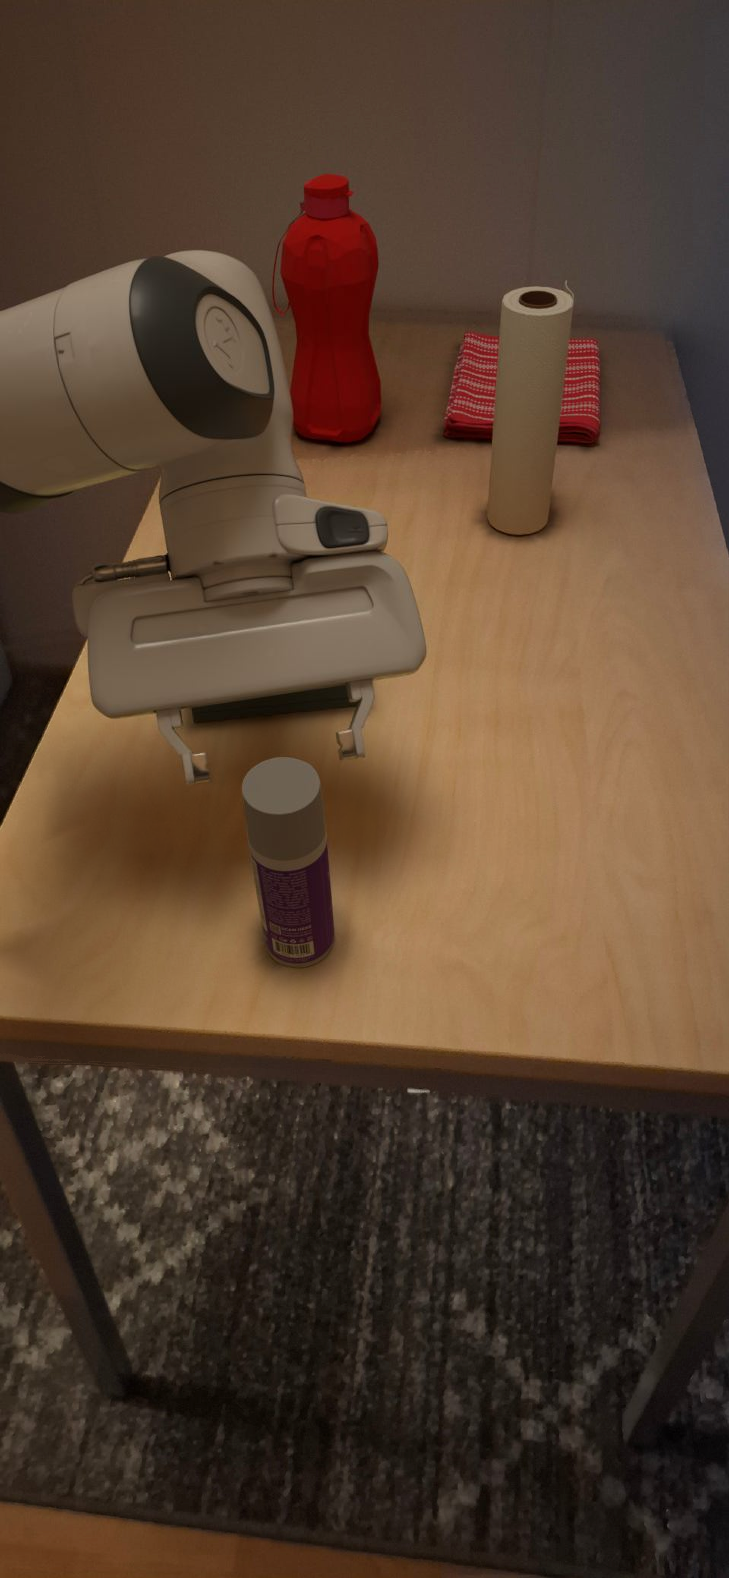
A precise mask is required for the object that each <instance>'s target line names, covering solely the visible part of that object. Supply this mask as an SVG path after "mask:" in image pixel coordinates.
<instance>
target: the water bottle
mask: <svg viewBox="0 0 729 1578" xmlns="http://www.w3.org/2000/svg"><path fill="white" fill-rule="evenodd" d="M354 193H355V191H354V190H350V182H349V179H348V178H347V177H346V176H344V175H341V174H334V173H324V174H320V175H317V176H316V177H313V178H311V179H309V180H307V181H306V182H305V183H304V184H303V200H301V201H300V202H299V205H300V206H299V207H300V208H299V211H300V212H299V214H298V215H297V216H296V217H295V218H293V220H292V221H291V222H290V223H289V224H288V225H287V229H286V230H285V232H284V234H283V235H282V237H281V238H280V239H279V241H278V244H277V248H276V252H275V258H274V264H273V271H272V281H271V282H272V283H271V294H272V295H271V297H272V302H273V303H272V304H273V306H274V309H275V310H276V311H277V313H278V314H281V315H283V314H285V313H287V312H288V310H289V309H290V310H291V314H292V317H293V320H294V325H295V336H296V337H295V338H296V345H295V351H294V360H293V367H292V375H291V382H290V387H289V388H290V395H291V401H292V407H293V428H294V430H295V431H296V432H297V433H298V434H299V435H300V436H302V437H304V439H310V440H311V439H312V440H321V441H329V442H330V441H331V442H336V443H344V444H351V443H353V442H358V441H362V440H363V439H365V438H366V437H367V436H368V435H369V434H370V433H371V432H372V431H373V430H374V427H375V425H376V424H377V422H378V421H379V418H380V415H381V407H382V385H381V384H382V382H381V377H380V374H379V369H378V366H377V361H376V356H375V353H374V349H373V346H372V341H371V337H370V313H371V308H372V303H373V297H374V292H375V286H376V283H377V278H378V277H377V276H378V272H379V266H380V264H379V249H378V243H377V237H376V235H375V233H374V230H373V229H372V228H371V225H370V223H369V222H368V221H367V220H366V219H365V218H364V217H363V216H362V215H361V214H359V213H357V212H356V211H354V210H352V209H351V208H350V197H353V194H354ZM283 238H284V239H283ZM282 240H283V241H282ZM281 242H282V244H281ZM280 245H281V255H280V268H279V271H280V272H279V273H280V277H281V280H282V283H283V286H284V290H285V294H286V298H287V300H288V302H287V303H288V304H287V308H286V310H283V311H281V310H280V308H278V306H277V303H276V300H275V299H276V297H275V275H276V274H275V273H276V267H277V259H278V254H279V248H280Z"/></svg>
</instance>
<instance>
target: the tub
mask: <svg viewBox="0 0 729 1578" xmlns="http://www.w3.org/2000/svg"><path fill="white" fill-rule="evenodd" d="M357 704H358V701H356V702H350V701H349V698H348V693H347V687H346V685H341V686H334V687H327V688H321V689H314V690H307V691H300V692H294V693H287V694H280V695H274V696H267V697H260V698H254V699H247V700H240V701H233V702H227V703H220V704H213V705H207V706H200V707H193V708H190V711H191V715H192V720H193V722H194V723H201V722H210V721H211V722H212V721H221V720H222V721H223V720H232V719H242V718H251V717H260V716H271V715H280V714H291V713H299V712H309V711H310V712H311V711H318V710H319V711H320V710H327V709H328V710H329V709H339V708H349V707H357Z"/></svg>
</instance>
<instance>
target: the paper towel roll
mask: <svg viewBox="0 0 729 1578" xmlns="http://www.w3.org/2000/svg"><path fill="white" fill-rule="evenodd" d="M567 284H568V279H566V280H565V282H564V288H563V289H564V290H562V289H557V288H553V287H551V286H550V287H549V286H539V285H538V286H537V285H536V286H524V287H519V288H515V289H513V290H510V291H509V292H507V293H505V294H504V295H503V298H502V300H501V306H500V308H501V309H500V320H499V321H500V322H499V323H500V324H499V350H498V364H497V378H496V393H495V407H494V422H493V436H492V439H491V451H490V467H489V480H488V481H489V482H488V493H487V494H488V495H487V508H486V509H487V510H486V517H487V520H488V522H489V525H491V526H492V527H493V528H495V530H497V531H500V532H502V533H504V534H509V535H517V536H521V535H531V534H533V533H536V532H539V531H541V530H542V529H543V528H544V527H545V526H546V525H547V524H548V521H549V515H550V507H551V499H552V489H553V481H554V474H555V473H554V472H555V463H556V454H557V446H558V441H557V439H558V431H559V422H560V414H561V405H562V397H563V389H564V380H565V372H566V363H567V355H568V346H569V339H571V329H572V321H573V312H574V304H575V294H574V293H573V292H572V291H571V289H570V288H569V287H568V285H567Z"/></svg>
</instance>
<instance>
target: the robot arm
mask: <svg viewBox="0 0 729 1578" xmlns="http://www.w3.org/2000/svg"><path fill="white" fill-rule="evenodd" d="M289 383H290V382H289V379H288V373H287V368H286V364H285V359H284V354H283V351H282V347H281V342H280V338H279V334H278V331H277V327H276V323H275V321H274V318H273V314H272V311H271V309H270V306H269V302H268V299H267V297H266V294H265V291H264V289H263V287H262V285H261V282H260V280H259V279H258V276H257V275H256V274H255V272H254V271H253V270H252V269H251V268H250V267H248V265H246V264H245V263H244V262H242V261H240V260H239V259H237V258H236V257H235V258H234V257H232V256H230V255H228V254H225V253H223V252H222V253H221V252H218V251H212V250H205V249H187V250H180V251H176V252H172V253H169V254H166V255H164V256H163V255H154V256H149V257H148V258H140V259H135V260H131V261H128V262H125V263H122V264H118V265H116V266H113V267H110V268H107V269H105V270H102V271H99V272H97V273H94V274H91V275H89V276H86V277H84V278H81V279H79V280H75V281H73V282H71V283H69V284H67V286H65V287H61V288H59V289H57V290H53V291H51V292H49V293H45V294H43V295H41V296H38V297H35V298H33V299H29V300H28V301H27V300H26V301H25V302H22V303H20V304H17V305H14V306H11V307H9V308H5V309H3V310H0V513H2V514H7V515H18V514H23V513H27V512H30V511H32V510H34V509H37V508H39V507H41V506H44V505H46V504H49V503H51V502H54V501H56V500H58V499H61V498H63V497H65V496H68V495H71V494H72V493H74V492H76V491H77V490H80V489H85V488H88V487H91V486H96V485H99V484H103V483H105V482H108V481H112V480H116V479H120V478H122V477H126V476H129V475H133V474H136V473H140V472H142V471H145V470H148V469H149V468H152V467H156V466H157V467H159V470H160V481H159V487H158V505H159V511H160V517H161V523H162V528H163V529H162V530H163V535H164V541H165V547H166V554H159V555H155V556H148V557H146V556H145V557H140V558H135V559H132V560H129V561H122V562H116V563H115V562H113V561H110V562H102V563H98V564H95V565H93V566H92V567H91V569H92V571H90V572H87V573H85V574H84V575H82V576H81V577H80V578H79V579H77V581H76V583H75V584H74V586H73V588H72V592H71V605H72V611H73V617H74V622H75V625H76V628H77V630H78V632H79V633H80V634H81V635H82V636H83V637H84V638H85V639H86V640H87V671H88V683H89V690H90V698H91V702H92V705H93V707H94V709H96V711H98V712H99V713H100V714H102V715H103V716H104V717H106V718H108V719H110V720H118V719H125V718H132V717H139V716H146V715H152V714H155V716H156V722H157V727H158V731H159V732H160V734H161V735H162V737H163V738H164V739H165V740H166V741H167V742H168V744H169V745H170V746H171V747H172V748H173V750H174V751H175V752H176V753H177V754H178V756H180V757H181V758H182V765H183V770H184V777H185V781H186V786H191V785H197V784H204V783H208V782H212V774H211V770H210V769H209V768H208V765H209V763H210V762H209V756H208V755H209V754H208V753H207V752H200V753H194V752H193V751H192V750H191V748H190V747H189V746H188V745H187V743H186V742H185V740H183V738H182V737H181V736H180V734H179V733H178V732H177V731H176V730H177V729H182V728H184V721H183V714H182V710H185V709H191V708H193V707H200V706H207V705H213V704H220V703H227V702H233V701H240V700H247V699H254V698H260V697H267V696H274V695H280V694H287V693H294V692H300V691H307V690H314V689H321V688H327V687H334V686H341V685H346V687H347V693H348V698H349V701H350V702H356V701H358V704H357V706H355V710H354V713H353V715H352V718H351V720H350V723H349V725H348V728H347V730H342V731H337V732H335V738H336V744H337V746H339V748H338V750H337V752H338V758H339V760H340V762H341V761H348V760H355V759H361V758H362V759H363V758H366V750H365V742H364V737H363V728H364V727H365V724H366V723H367V719H368V717H369V714H370V711H371V709H372V706H373V704H374V702H375V699H376V697H375V689H374V681H380V680H386V679H387V680H388V679H393V678H400V677H406V676H411V675H413V674H415V673H417V672H418V671H419V670H420V668H421V667H422V665H423V663H424V662H425V660H426V658H427V653H428V651H427V642H426V637H425V633H424V626H423V624H422V619H421V614H420V611H419V607H418V604H417V600H416V596H415V593H414V589H413V587H412V584H411V581H410V578H409V576H408V573H407V572H406V570H405V569H404V567H403V565H402V564H401V563H400V562H399V561H398V560H397V559H396V558H395V557H394V556H392V555H391V554H388V553H386V552H385V550H386V548H387V545H388V543H389V542H388V541H389V527H388V523H387V518H386V517H385V515H384V514H383V513H381V512H380V511H377V510H374V509H371V508H365V507H361V506H360V507H359V506H355V505H348V504H342V503H337V502H331V501H326V500H322V499H316V498H311V497H307V491H306V484H305V479H304V475H303V473H302V471H301V469H300V467H299V465H298V462H297V459H296V458H295V454H294V453H295V452H294V449H293V438H292V433H293V427H294V425H293V407H292V401H291V395H290V388H291V387H290V384H289ZM91 580H94V582H92V583H87V582H90V581H91ZM175 729H176V730H175Z"/></svg>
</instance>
